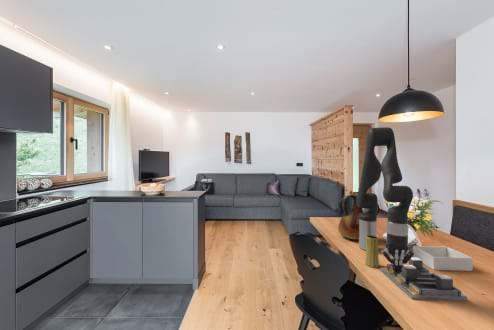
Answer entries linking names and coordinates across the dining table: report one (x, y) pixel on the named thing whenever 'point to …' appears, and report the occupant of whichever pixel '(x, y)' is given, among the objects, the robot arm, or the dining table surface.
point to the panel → (422, 285)
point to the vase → (372, 251)
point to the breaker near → (444, 282)
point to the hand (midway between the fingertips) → (396, 272)
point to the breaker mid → (409, 271)
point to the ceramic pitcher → (350, 219)
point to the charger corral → (443, 258)
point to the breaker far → (416, 262)
